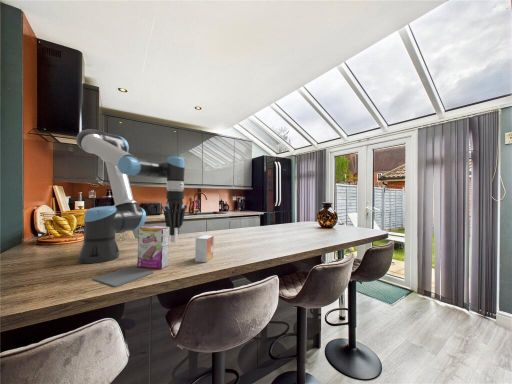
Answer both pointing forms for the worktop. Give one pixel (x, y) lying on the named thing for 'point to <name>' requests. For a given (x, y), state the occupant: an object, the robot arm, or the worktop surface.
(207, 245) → the small box
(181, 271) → the worktop surface
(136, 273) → the mat
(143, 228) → the candy bar box
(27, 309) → the worktop surface
